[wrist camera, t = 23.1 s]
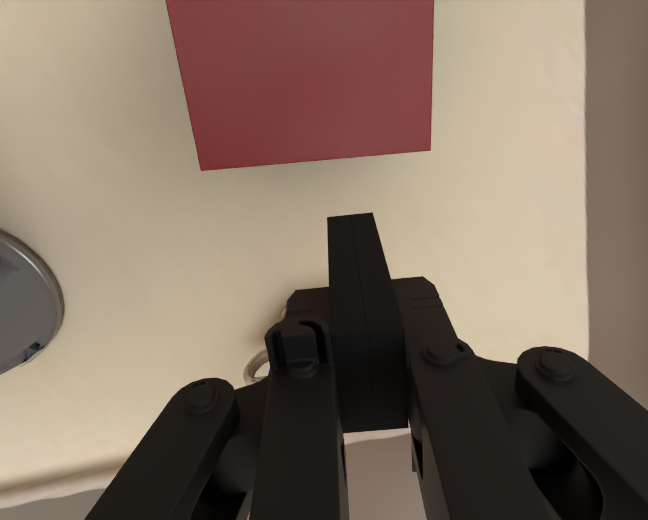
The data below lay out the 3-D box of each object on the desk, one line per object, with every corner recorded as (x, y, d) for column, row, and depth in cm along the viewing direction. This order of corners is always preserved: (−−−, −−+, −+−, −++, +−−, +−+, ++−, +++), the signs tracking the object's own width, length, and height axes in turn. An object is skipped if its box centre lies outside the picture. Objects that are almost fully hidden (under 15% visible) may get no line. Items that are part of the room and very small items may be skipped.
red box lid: (203, 168, 32) (200, 171, 31) (153, -75, 25) (148, -78, 25) (428, 147, 31) (430, 150, 31) (433, -102, 25) (436, -106, 25)
